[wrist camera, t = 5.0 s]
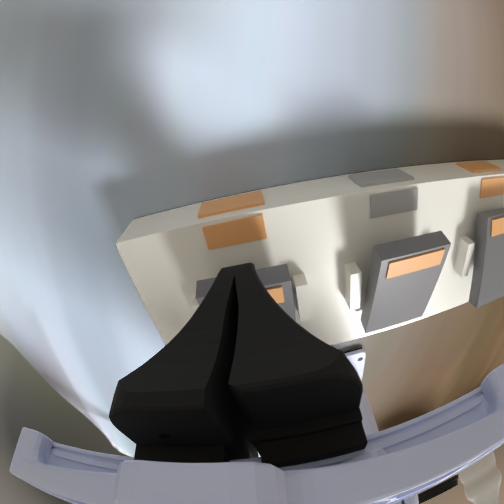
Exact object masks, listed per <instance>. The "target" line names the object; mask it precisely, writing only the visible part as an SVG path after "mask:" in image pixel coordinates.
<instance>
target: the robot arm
mask: <svg viewBox="0 0 504 504" xmlns="http://www.w3.org/2000/svg"><path fill="white" fill-rule="evenodd" d="M365 357H366V352H365V350H364V349H359V350H356V351H352V352H348V353H343V352H342V351H340V350H338V349H336V348H334V347H332V346H330V345H328V344H327V343H325V342H323V341H322V340H320V339H318V338H317V337H315V336H314V335H312V334H311V333H310V332H308V331H307V330H306V329H304V328H303V327H302V326H300V325H299V324H298V323H297V322H295V321H294V320H293V319H292V318H291V317H290V316H289V315H288V314H287V313H286V312H285V311H284V310H283V309H282V308H281V307H280V306H279V305H278V304H277V303H276V301H275V300H274V299H273V298H272V296H271V295H270V294H269V293H268V291H267V290H266V288H265V287H264V285H263V284H262V282H261V280H260V279H259V277H258V275H257V273H256V269H255V265H254V264H253V263H251V262H250V263H245V264H240V265H235V266H230V267H225V268H221V270H220V271H219V273H218V275H217V277H216V279H215V280H214V282H213V284H212V286H211V288H210V289H209V291H208V293H207V294H206V296H205V298H204V299H203V301H202V302H201V304H200V305H199V307H198V308H197V310H196V311H195V313H194V314H193V316H192V317H191V318H190V320H189V321H188V322H187V323H186V325H185V326H184V327H183V328H182V329H181V330H180V332H179V333H178V334H177V335H176V336H175V337H174V338H173V339H172V340H171V341H170V342H169V343H168V344H167V345H166V346H165V347H164V348H163V349H161V350H160V351H159V352H158V353H157V354H156V355H154V356H153V357H152V358H151V359H149V360H148V361H147V362H146V363H144V364H143V365H142V366H140V367H139V368H137V369H136V370H134V371H133V372H131V373H130V374H128V375H127V376H125V377H124V378H122V379H121V380H119V381H118V384H117V387H116V390H115V394H114V397H113V401H112V405H111V409H110V413H109V418H110V420H111V422H112V424H113V425H114V426H115V427H116V428H117V429H118V430H119V431H121V432H122V433H123V434H124V435H126V436H127V437H128V438H129V439H131V440H132V441H133V442H134V443H136V450H135V456H134V457H125V456H117V455H110V454H105V453H99V452H94V451H88V450H83V449H79V448H74V447H70V446H66V445H62V444H58V443H55V442H52V441H51V440H50V439H49V438H48V437H47V436H45V435H44V434H42V433H40V432H38V431H35V430H32V429H28V428H25V427H24V428H22V431H21V434H20V437H19V440H18V443H17V446H16V449H15V453H14V456H13V459H12V463H11V467H10V473H12V474H14V475H15V476H17V477H19V478H20V479H22V480H24V481H25V482H27V483H29V484H31V485H33V486H35V487H36V488H38V489H41V490H42V491H44V492H46V493H48V494H50V495H53V496H55V497H57V498H60V499H62V500H65V501H68V502H70V503H73V504H419V500H418V494H417V493H420V492H422V491H424V490H426V489H428V488H430V487H432V486H434V485H436V484H438V483H440V482H442V481H444V480H446V479H448V478H450V477H451V476H453V475H455V474H457V473H459V472H460V471H462V470H464V469H465V468H467V467H469V466H470V465H472V464H474V463H475V462H477V461H478V460H480V459H481V458H483V457H484V456H486V455H487V454H489V453H490V452H492V451H493V450H495V449H496V448H497V447H499V446H500V445H502V444H503V443H504V364H502V365H500V366H499V367H497V368H496V369H494V370H493V371H491V372H490V373H489V374H488V375H487V376H486V377H485V379H484V380H483V382H482V383H481V386H480V387H478V388H476V389H475V390H473V391H471V392H469V393H467V394H466V395H464V396H462V397H460V398H458V399H456V400H454V401H452V402H450V403H448V404H446V405H444V406H442V407H440V408H437V409H435V410H433V411H431V412H429V413H426V414H424V415H422V416H419V417H417V418H414V419H412V420H409V421H407V422H404V423H402V424H399V425H396V426H394V427H391V428H388V429H385V430H382V431H378V428H377V425H376V422H375V418H374V416H373V413H372V410H371V407H370V404H369V401H368V398H367V395H366V392H365V389H364V387H363V384H362V376H363V370H364V364H365ZM258 453H259V454H260V456H261V457H258Z"/></svg>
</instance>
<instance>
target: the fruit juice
mask: <svg viewBox="0 0 504 504" xmlns="http://www.w3.org/2000/svg"><path fill="white" fill-rule="evenodd" d="M495 462H496V459H495V455H494V452H493V451H492V452H490V453H489V454H487V455H486V456H484V457H483V458H481V459H480V460H478V461H477V462H475V463H474V464H472V465H470V466H469V467H467V468H465V469H464V470H462V471H460V472H459V473H457V474H458V477H459V479H460V481H461V482H462V483H463V484H464V486H465V496H466V498H467V499H468V500H469V501H471V502H473V503H474V504H501V503H500V502H499V488H500V483H501V479H502V475H501V472H500V471H499V469H498V468H497V467H496V464H495Z"/></svg>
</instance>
